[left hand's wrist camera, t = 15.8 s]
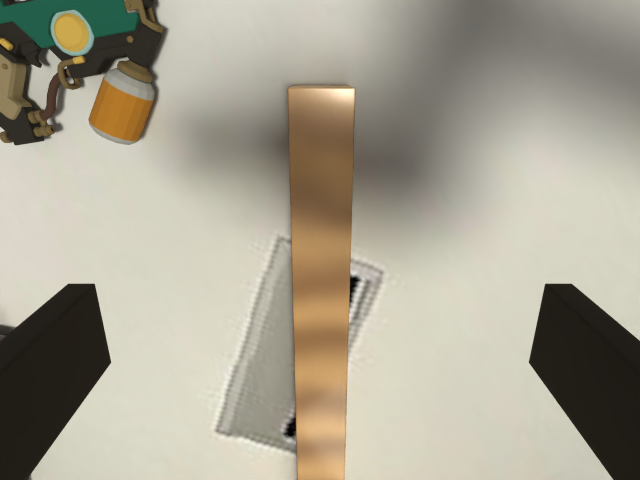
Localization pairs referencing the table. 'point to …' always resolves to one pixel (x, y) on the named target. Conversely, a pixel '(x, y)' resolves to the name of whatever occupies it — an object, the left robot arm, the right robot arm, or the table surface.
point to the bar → (321, 270)
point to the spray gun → (78, 63)
